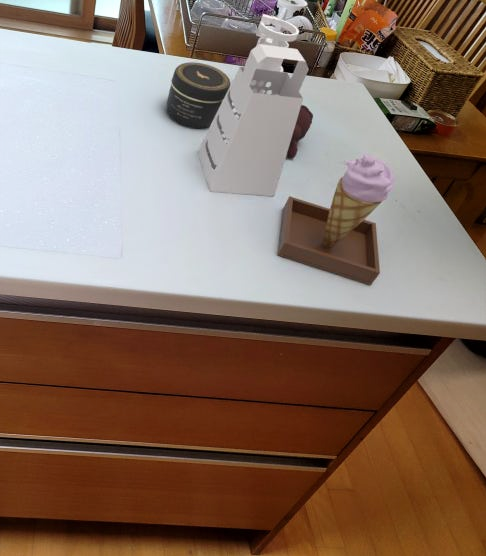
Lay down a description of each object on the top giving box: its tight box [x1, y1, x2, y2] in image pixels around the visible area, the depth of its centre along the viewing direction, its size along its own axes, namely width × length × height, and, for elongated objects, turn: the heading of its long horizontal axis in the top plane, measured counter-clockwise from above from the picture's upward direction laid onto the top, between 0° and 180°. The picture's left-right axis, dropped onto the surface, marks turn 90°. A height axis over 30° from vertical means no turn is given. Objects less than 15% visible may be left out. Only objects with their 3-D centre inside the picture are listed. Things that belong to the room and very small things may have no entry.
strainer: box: [244, 13, 300, 94], centre depth 102 cm, size 7×7×15 cm
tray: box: [277, 196, 381, 286], centre depth 79 cm, size 13×11×2 cm
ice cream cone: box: [323, 154, 395, 248], centre depth 74 cm, size 7×6×15 cm
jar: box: [166, 61, 231, 129], centre depth 96 cm, size 10×10×8 cm
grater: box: [197, 44, 310, 197], centre depth 81 cm, size 10×10×20 cm
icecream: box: [286, 104, 314, 159], centre depth 96 cm, size 7×7×15 cm
